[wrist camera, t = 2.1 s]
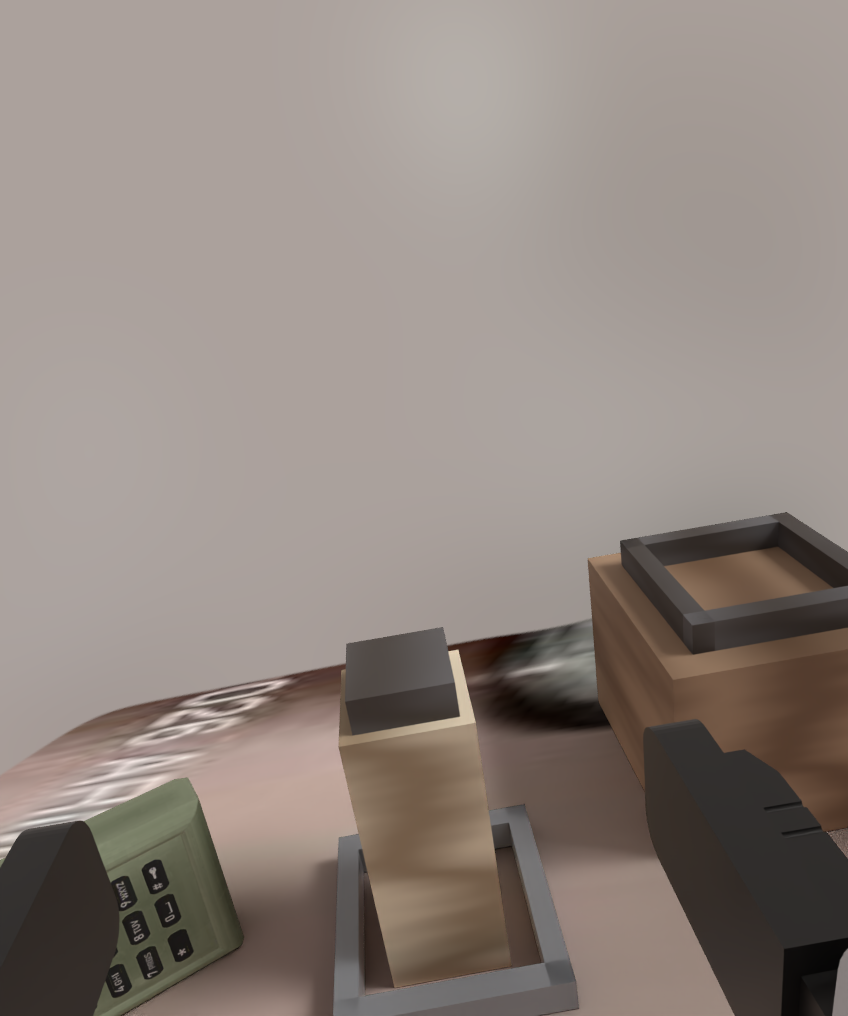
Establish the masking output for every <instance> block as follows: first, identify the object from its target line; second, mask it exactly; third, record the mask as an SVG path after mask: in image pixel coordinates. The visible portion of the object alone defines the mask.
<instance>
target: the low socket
mask: <svg viewBox="0 0 848 1016" xmlns="http://www.w3.org/2000/svg"><path fill="white" fill-rule="evenodd" d="M489 816H490V823H491V830H492V836H493V843H494V849H496V848H502V847H507V846H512V848H513V852H514V856H515V860H516V864H517V867H518V871H519V875H520V879H521V883H522V887H523V891H524V895H525V899H526V903H527V907H528V911H529V915H530V919H531V923H532V927H533V931H534V935H535V939H536V943H537V947H538V951H539V955H540V959H541V963H539V964H534V965H528V966H523V967H517V968H512V969H507V970H501V971H496V972H490V973H485V974H480V975H474V976H469V977H463V978H458V979H453V980H447V981H442V982H436V983H431V984H426V985H420V986H415V987H410V988H404V989H399V990H393V991H388V992H383V993H377V994H372V995H366V996H365V953H364V872H368V871H367V867H366V863H365V859H364V854H363V850H362V846H361V841H360V837H359V834H356V835H351V836H345V837H339V845H338V876H337V908H336V939H335V971H334V1002H333V1016H539V1015H545V1014H550V1013H555V1012H561V1011H566V1010H571V1009H577V1008H579V1004H578V994H577V985H576V979H575V976H574V972H573V969H572V966H571V962H570V959H569V955H568V952H567V948H566V945H565V941H564V938H563V935H562V931H561V928H560V924H559V921H558V917H557V914H556V911H555V907H554V904H553V900H552V897H551V893H550V890H549V887H548V883H547V880H546V876H545V873H544V869H543V866H542V863H541V859H540V856H539V852H538V849H537V845H536V842H535V838H534V835H533V832H532V828H531V825H530V821H529V818H528V814H527V811H526V808H525V804H523V805H518V806H512V807H506V808H501V809H495V810H490V811H489Z"/></svg>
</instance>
